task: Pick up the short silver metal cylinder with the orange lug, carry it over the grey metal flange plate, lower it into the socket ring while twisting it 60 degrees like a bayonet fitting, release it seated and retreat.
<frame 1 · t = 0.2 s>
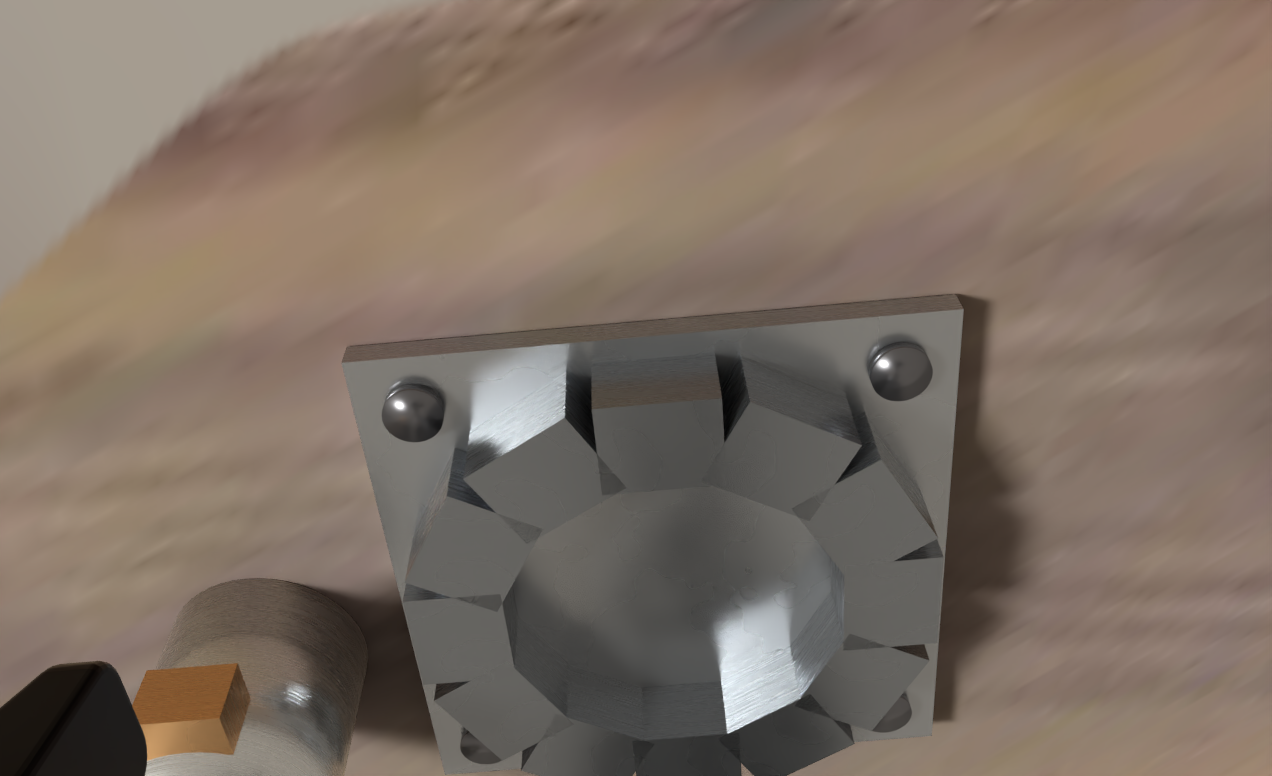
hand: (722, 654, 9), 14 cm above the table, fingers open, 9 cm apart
silver metal cylinder: (270, 650, 28), on the table
duct flange: (670, 553, 27), on the table
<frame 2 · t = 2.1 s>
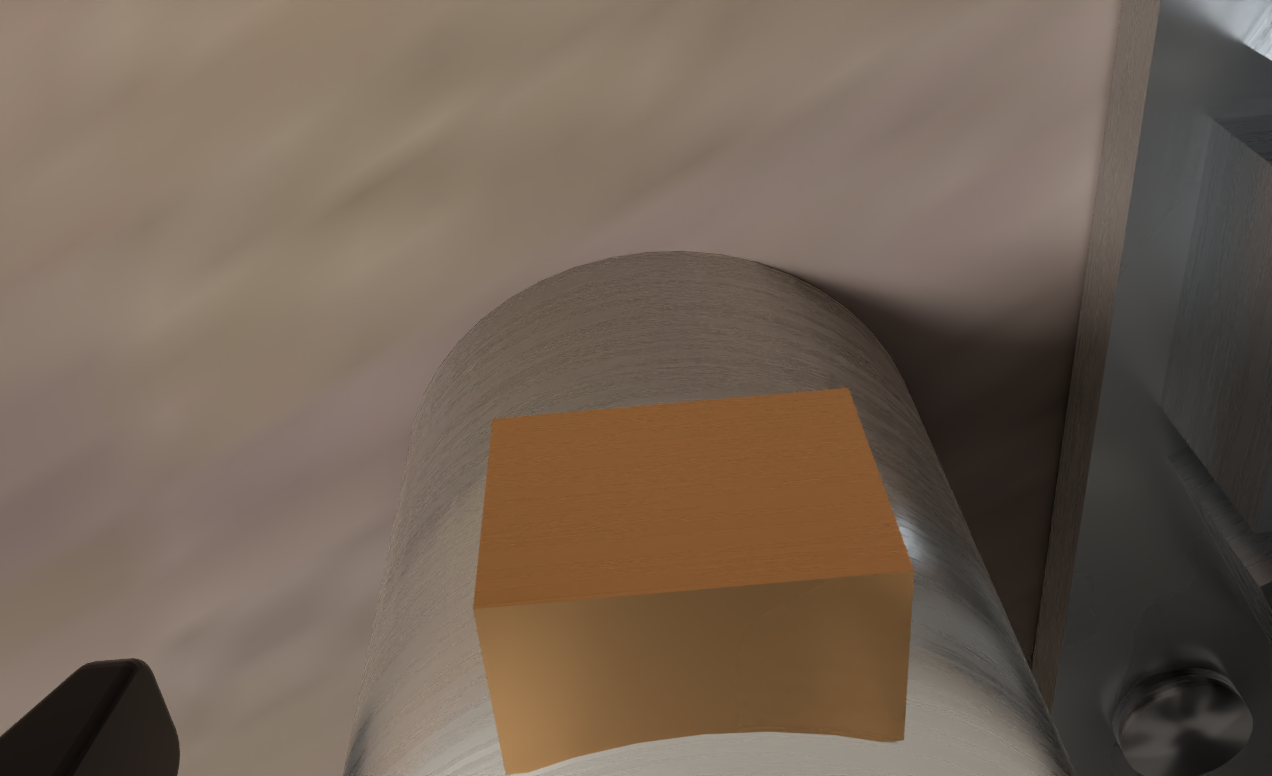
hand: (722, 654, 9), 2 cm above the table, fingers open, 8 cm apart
silver metal cylinder: (664, 481, 11), on the table
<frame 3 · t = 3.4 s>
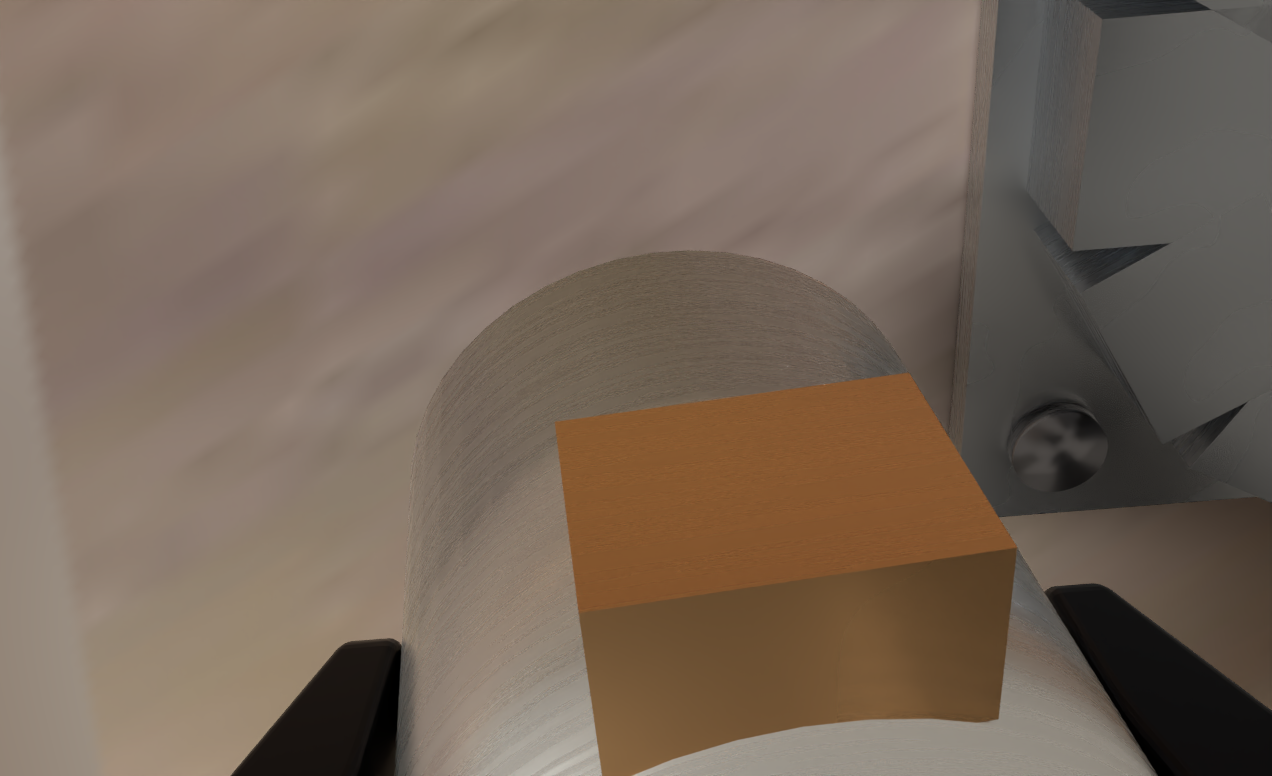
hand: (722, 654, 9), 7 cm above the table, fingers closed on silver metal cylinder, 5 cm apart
silver metal cylinder: (670, 483, 11), point 5 cm above the table, tilted 6°, touching gripper
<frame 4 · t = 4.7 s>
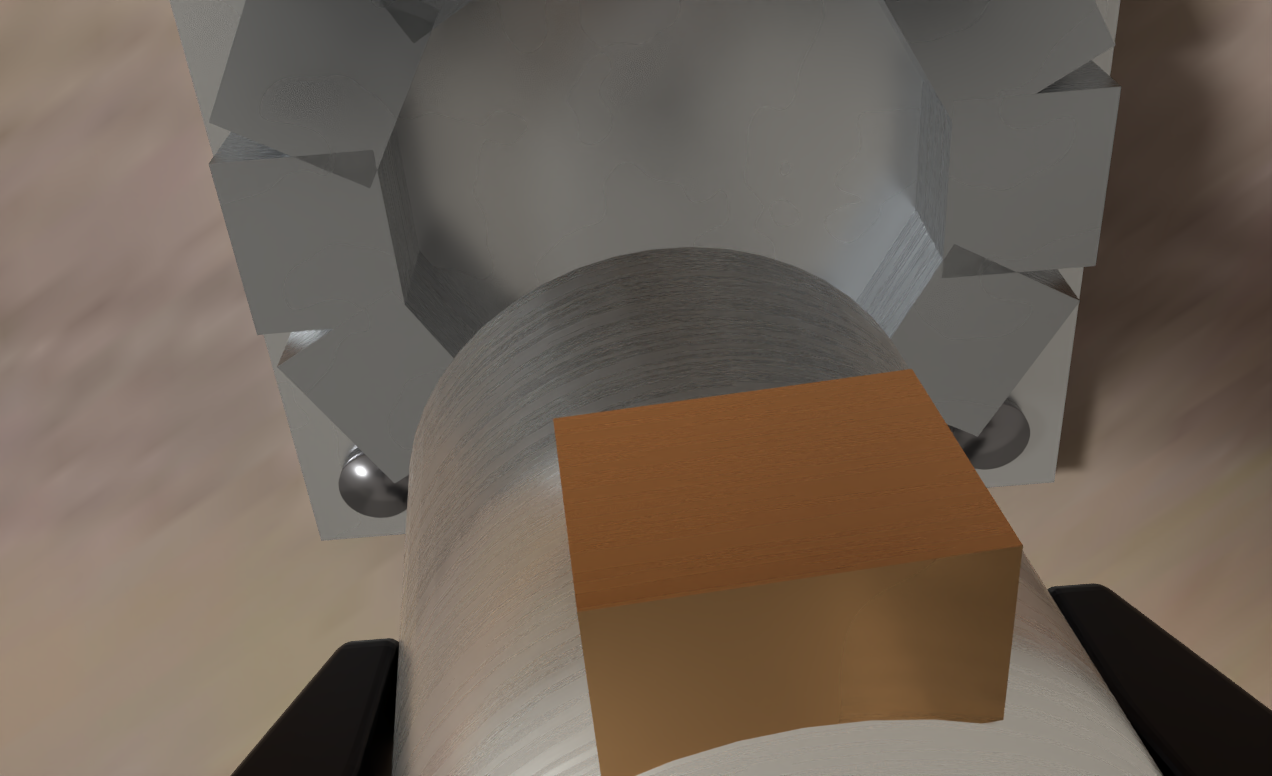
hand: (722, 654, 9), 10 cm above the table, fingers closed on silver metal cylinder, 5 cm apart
silver metal cylinder: (670, 482, 11), point 8 cm above the table, tilted 6°, touching gripper
duct flange: (660, 151, 17), on the table
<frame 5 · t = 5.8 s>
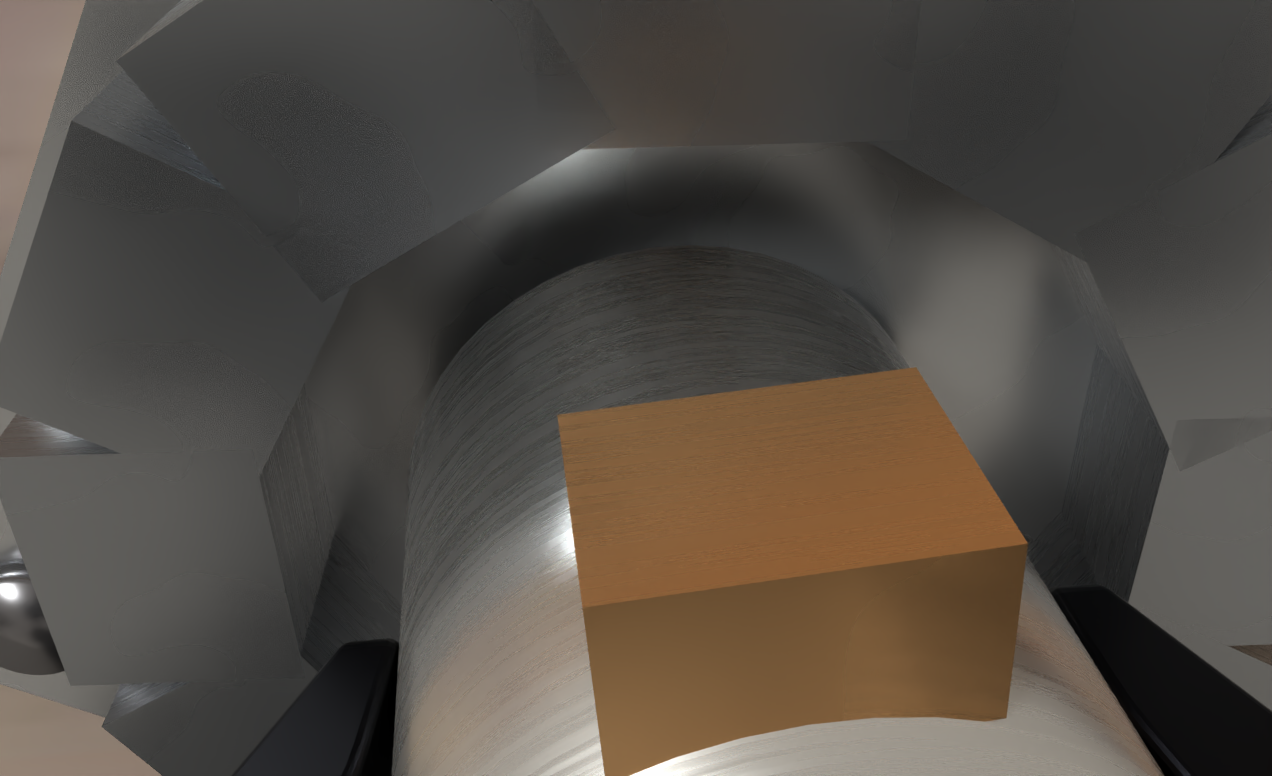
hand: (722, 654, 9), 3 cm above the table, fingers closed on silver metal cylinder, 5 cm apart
silver metal cylinder: (670, 481, 11), point 1 cm above the table, tilted 6°, touching gripper
duct flange: (695, 407, 12), on the table
when the fingers open (3 cm above the table, at t = 6.3 s): silver metal cylinder stays where it is, resting on duct flange.
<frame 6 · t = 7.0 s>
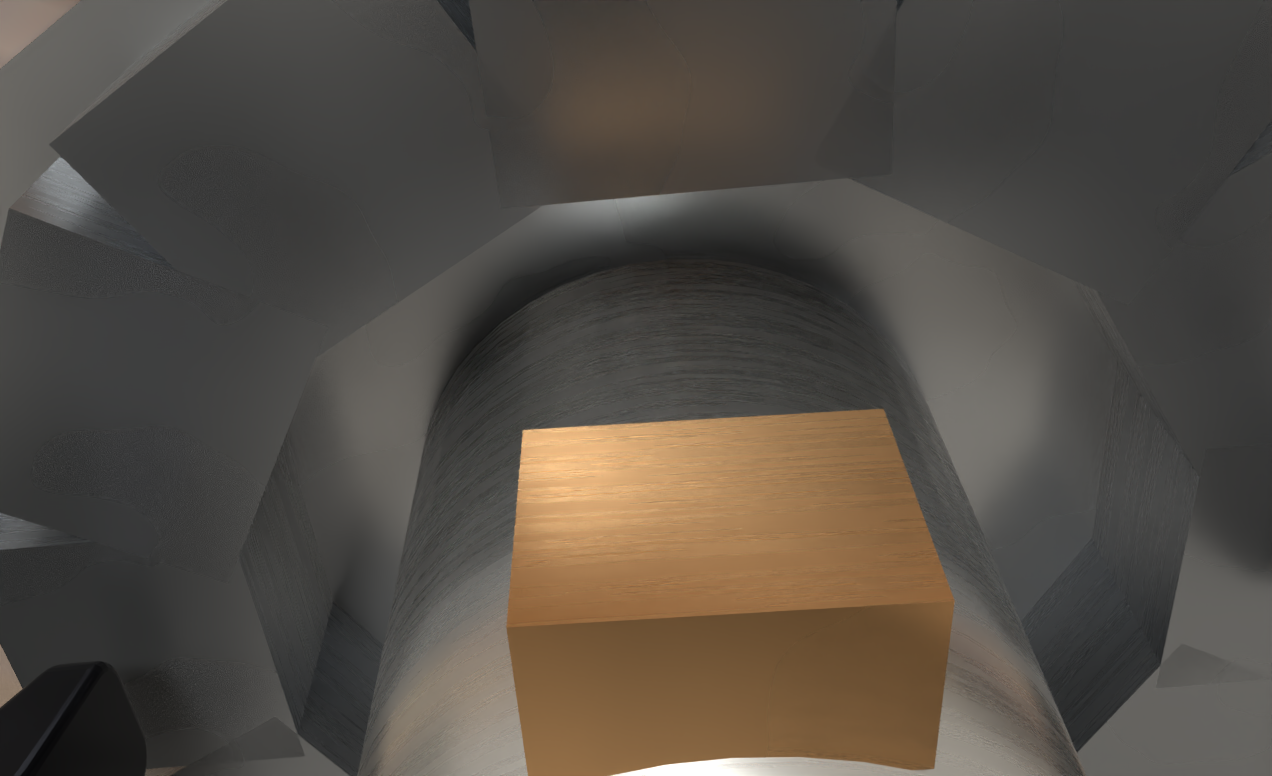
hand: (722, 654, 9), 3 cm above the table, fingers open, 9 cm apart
silver metal cylinder: (679, 489, 11), point 1 cm above the table, touching duct flange
duct flange: (699, 448, 11), on the table
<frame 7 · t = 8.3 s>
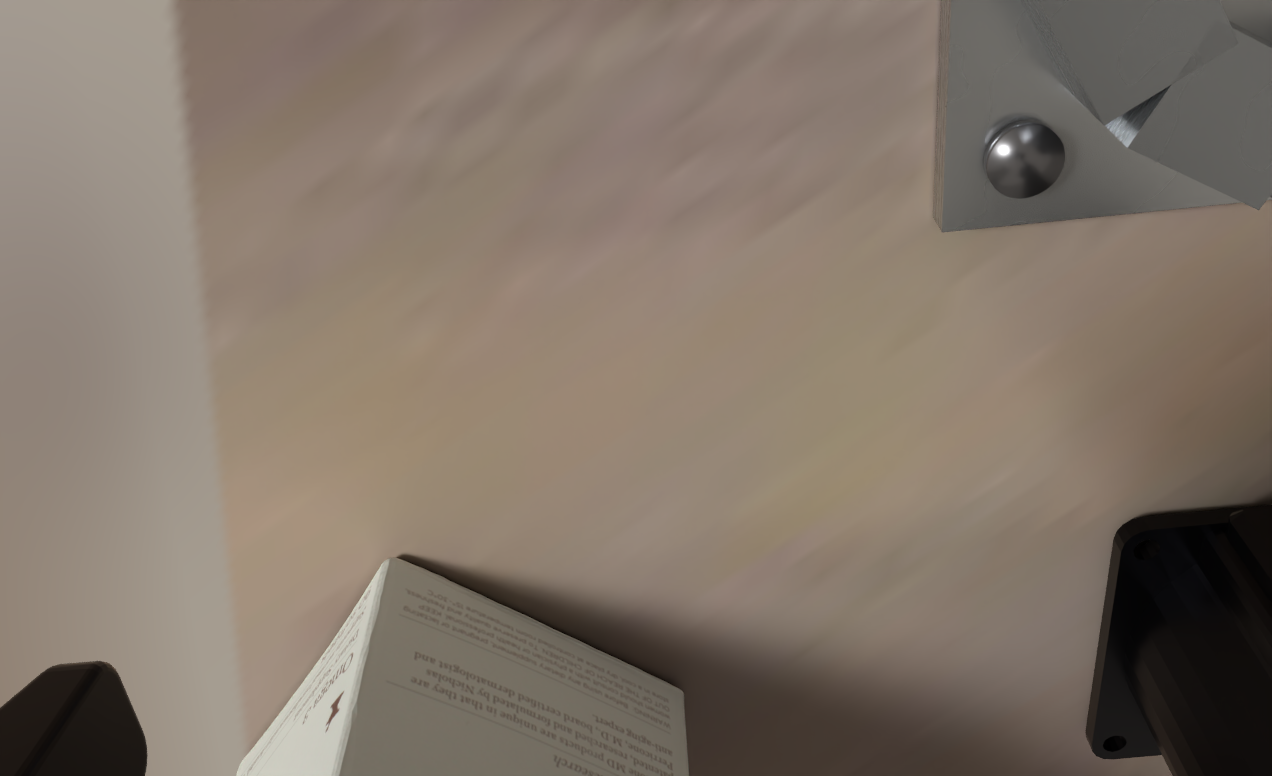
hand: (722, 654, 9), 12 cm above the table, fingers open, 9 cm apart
supplement box: (458, 715, 27), on the table
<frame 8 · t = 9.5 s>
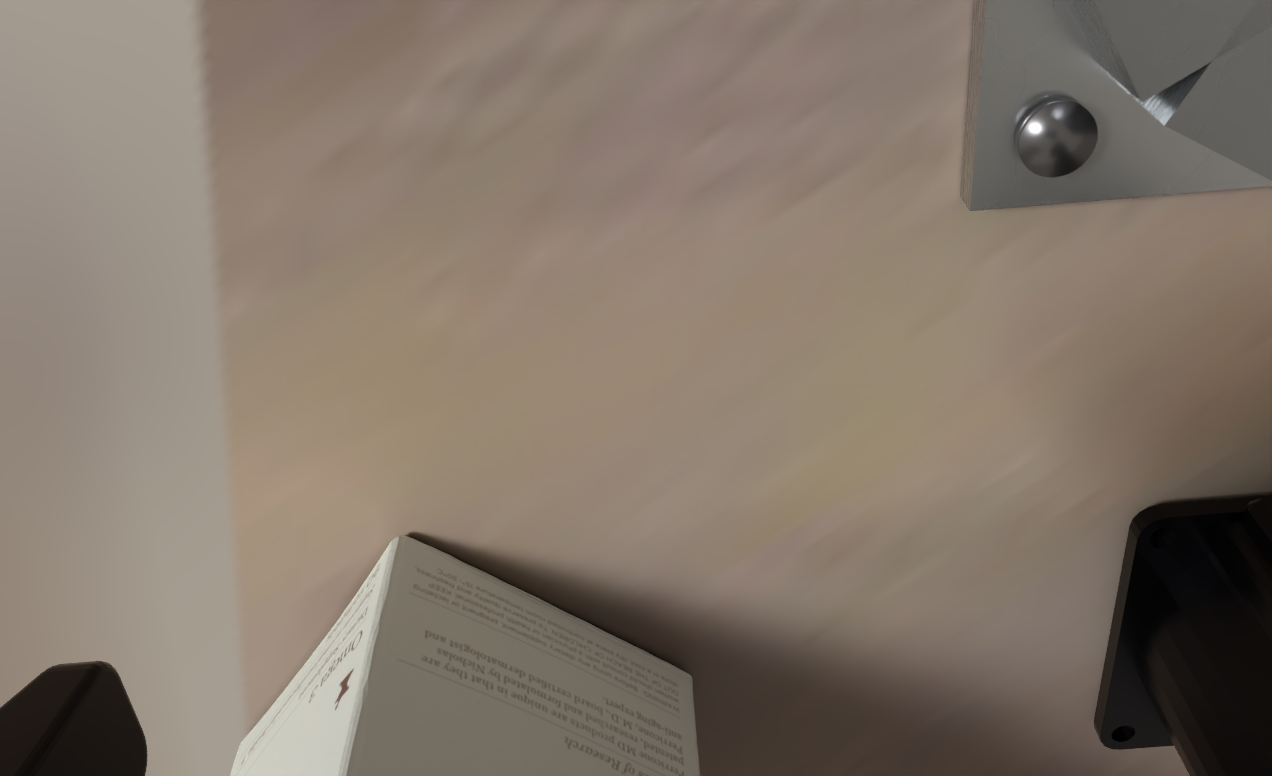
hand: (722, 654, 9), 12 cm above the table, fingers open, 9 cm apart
supplement box: (462, 698, 26), on the table
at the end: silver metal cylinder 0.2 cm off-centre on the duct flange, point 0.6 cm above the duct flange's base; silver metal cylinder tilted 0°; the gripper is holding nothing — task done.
